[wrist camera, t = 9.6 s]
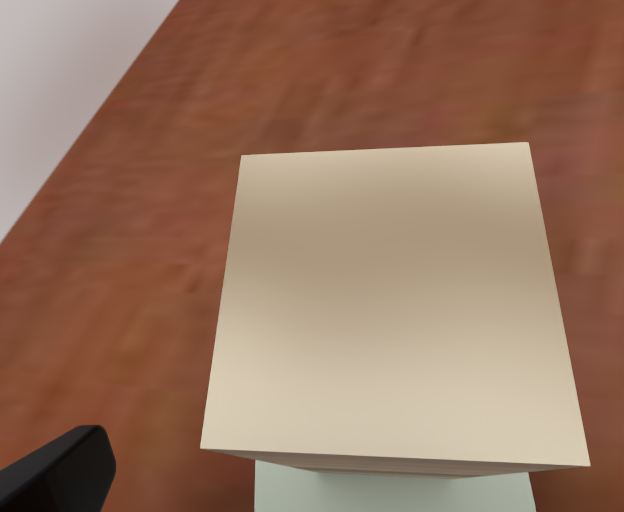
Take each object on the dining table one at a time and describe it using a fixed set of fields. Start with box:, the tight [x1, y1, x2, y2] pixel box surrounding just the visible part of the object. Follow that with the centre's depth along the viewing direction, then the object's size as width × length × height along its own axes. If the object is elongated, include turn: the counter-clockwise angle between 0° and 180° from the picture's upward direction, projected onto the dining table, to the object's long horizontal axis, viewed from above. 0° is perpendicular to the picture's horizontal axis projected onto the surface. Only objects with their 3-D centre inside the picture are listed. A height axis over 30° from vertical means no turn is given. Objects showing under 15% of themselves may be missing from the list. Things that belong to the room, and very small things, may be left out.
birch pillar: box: [200, 142, 590, 479], centre depth 13 cm, size 5×5×12 cm
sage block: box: [254, 460, 536, 512], centre depth 20 cm, size 10×10×3 cm
